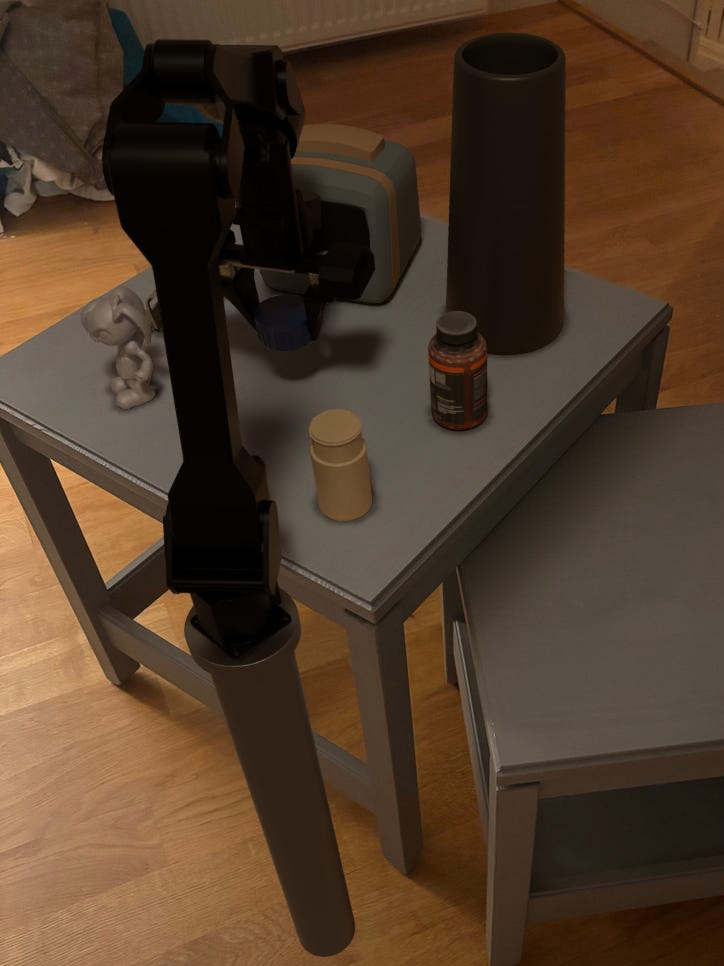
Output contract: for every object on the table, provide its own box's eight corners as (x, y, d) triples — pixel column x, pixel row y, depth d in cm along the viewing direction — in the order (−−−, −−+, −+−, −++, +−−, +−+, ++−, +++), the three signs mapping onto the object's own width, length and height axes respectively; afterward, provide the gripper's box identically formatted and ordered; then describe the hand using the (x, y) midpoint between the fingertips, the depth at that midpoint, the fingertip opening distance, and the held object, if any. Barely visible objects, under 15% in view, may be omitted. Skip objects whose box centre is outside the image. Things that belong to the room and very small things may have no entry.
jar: (346, 529, 99) (335, 451, 92) (307, 505, 101) (294, 427, 94) (383, 500, 102) (375, 422, 94) (345, 477, 104) (334, 399, 97)
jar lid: (245, 339, 108) (240, 315, 106) (284, 311, 111) (280, 287, 109) (289, 359, 106) (285, 335, 104) (327, 330, 109) (324, 306, 107)
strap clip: (121, 329, 120) (111, 296, 117) (133, 314, 122) (123, 281, 118) (189, 340, 118) (181, 307, 115) (200, 325, 120) (192, 292, 117)
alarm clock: (257, 293, 124) (233, 162, 112) (304, 223, 134) (286, 96, 122) (389, 312, 122) (378, 180, 109) (426, 239, 132) (420, 111, 119)
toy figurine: (102, 380, 114) (68, 282, 104) (161, 367, 115) (133, 269, 106) (112, 418, 110) (78, 319, 100) (173, 404, 111) (145, 305, 102)
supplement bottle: (490, 398, 112) (490, 305, 103) (484, 434, 108) (485, 341, 99) (434, 395, 112) (430, 302, 103) (427, 431, 108) (422, 338, 100)
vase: (543, 279, 126) (556, 18, 104) (579, 344, 118) (602, 75, 95) (433, 296, 124) (423, 32, 102) (462, 363, 116) (457, 92, 93)
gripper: (385, 161, 101) (395, 303, 113) (203, 141, 103) (232, 282, 115) (350, 220, 94) (365, 364, 106) (157, 196, 96) (193, 340, 109)
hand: (288, 335), depth 109 cm, fingers closed on jar lid, 6 cm apart
